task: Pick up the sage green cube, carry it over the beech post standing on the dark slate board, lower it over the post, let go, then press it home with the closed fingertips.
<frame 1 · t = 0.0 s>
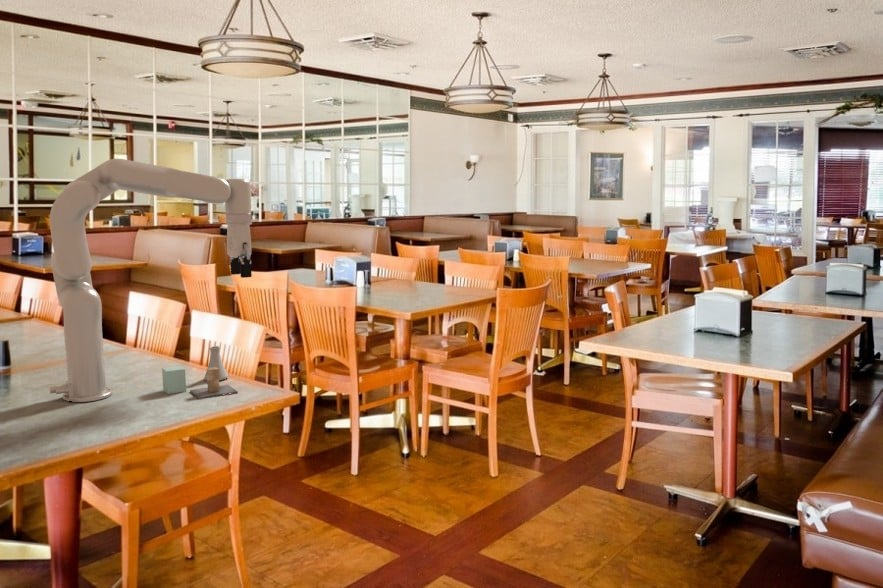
hand: (241, 275, 233), 31 cm above the table, tool pointing down, fingers open, 9 cm apart
sage green cube: (174, 390, 219), on the table
post: (213, 392, 217), on the table
flask: (216, 379, 233), on the table
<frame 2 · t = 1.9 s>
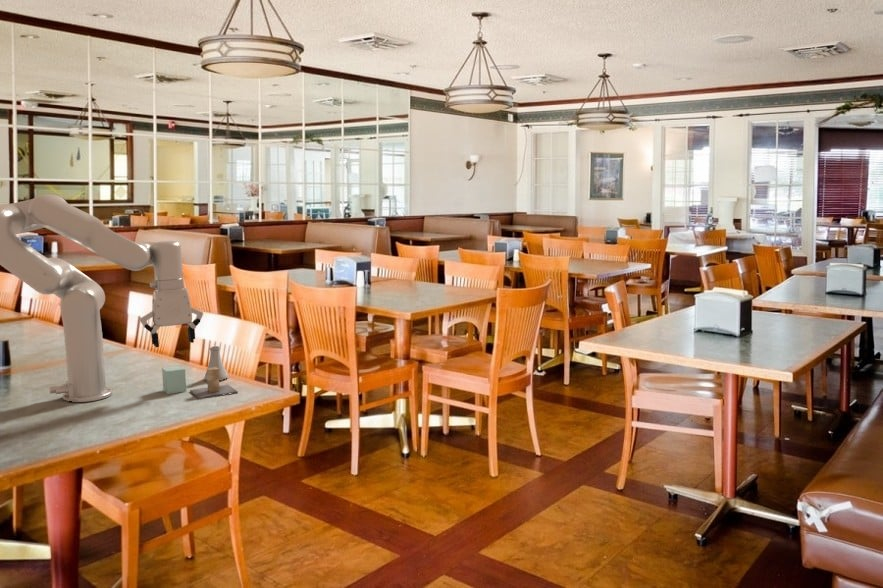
hand: (174, 344, 217), 14 cm above the table, tool pointing down, fingers open, 9 cm apart
nothing on the table moved.
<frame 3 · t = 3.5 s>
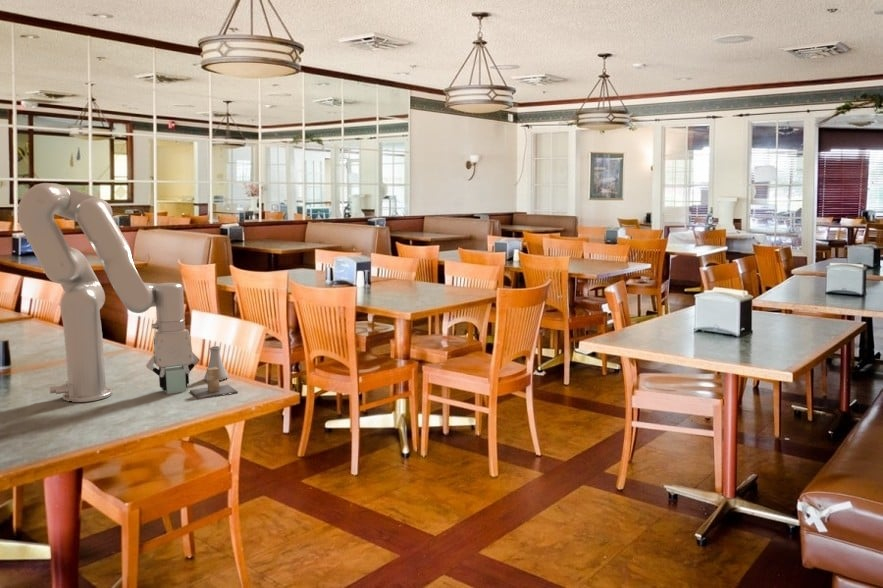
hand: (174, 387, 219), 1 cm above the table, tool pointing down, fingers closed on sage green cube, 5 cm apart
sage green cube: (174, 390, 219), on the table, touching gripper
everything else where it was.
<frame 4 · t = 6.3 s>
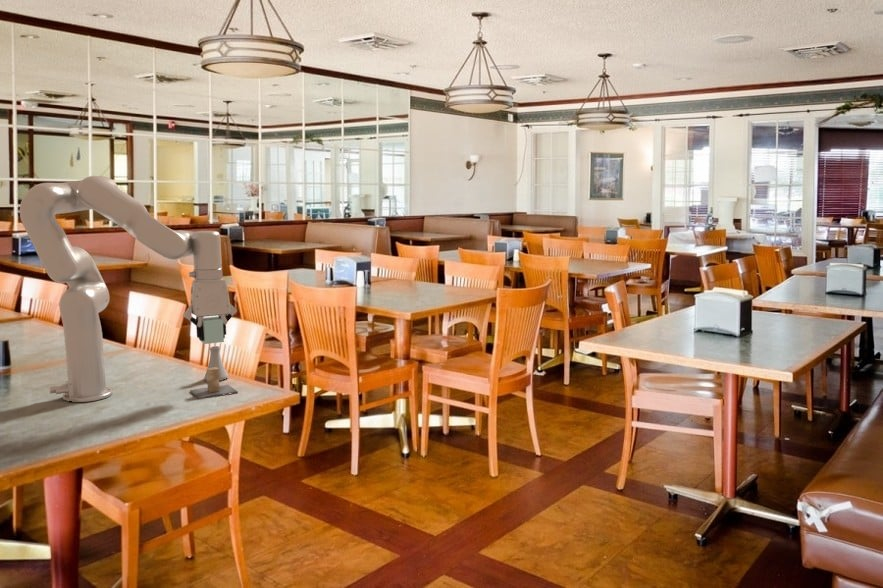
hand: (211, 338, 215), 16 cm above the table, tool pointing down, fingers closed on sage green cube, 5 cm apart
sage green cube: (212, 341, 215), point 15 cm above the table, touching gripper
everything else where it was.
when the fingers open (3 cm above the table, at t = 9.2 s): sage green cube drops 1 cm, resting on post.
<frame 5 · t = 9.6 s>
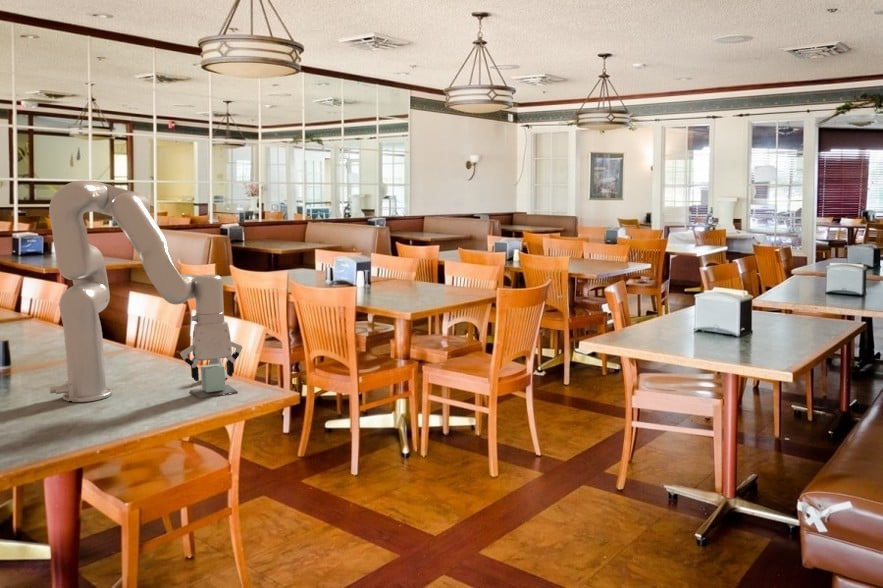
hand: (213, 377, 217), 4 cm above the table, tool pointing down, fingers open, 9 cm apart
sage green cube: (213, 389, 217), point 1 cm above the table, touching post
everything else where it was.
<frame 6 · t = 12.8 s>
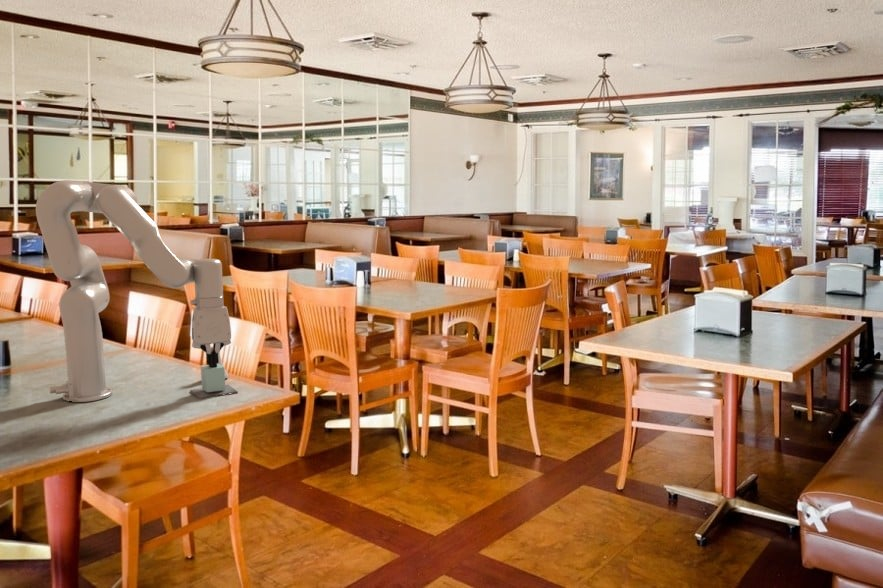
hand: (212, 366, 216), 8 cm above the table, tool pointing down, fingers closed
sage green cube: (213, 389, 217), point 1 cm above the table, touching gripper, post
everything else where it was.
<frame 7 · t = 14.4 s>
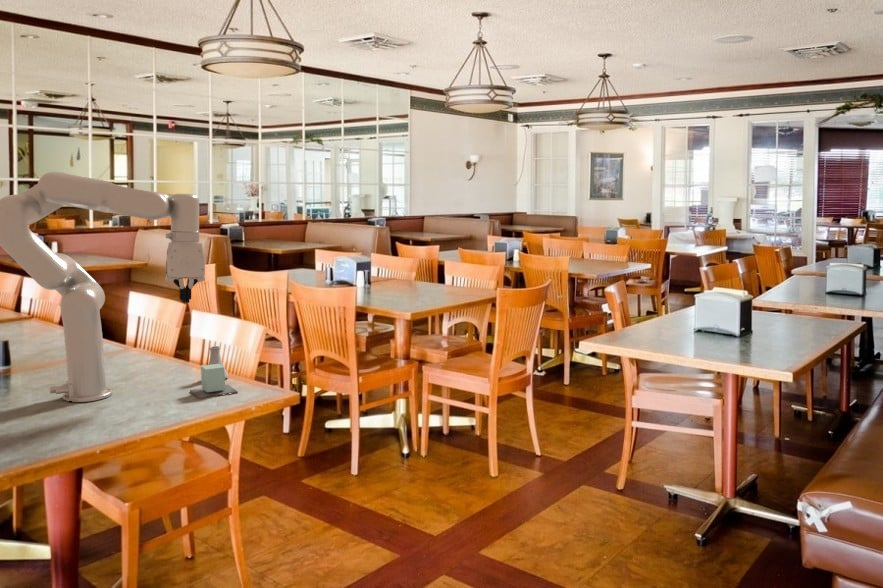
hand: (185, 302, 217), 26 cm above the table, tool pointing down, fingers closed
sage green cube: (213, 389, 217), point 1 cm above the table, touching post
everything else where it was.
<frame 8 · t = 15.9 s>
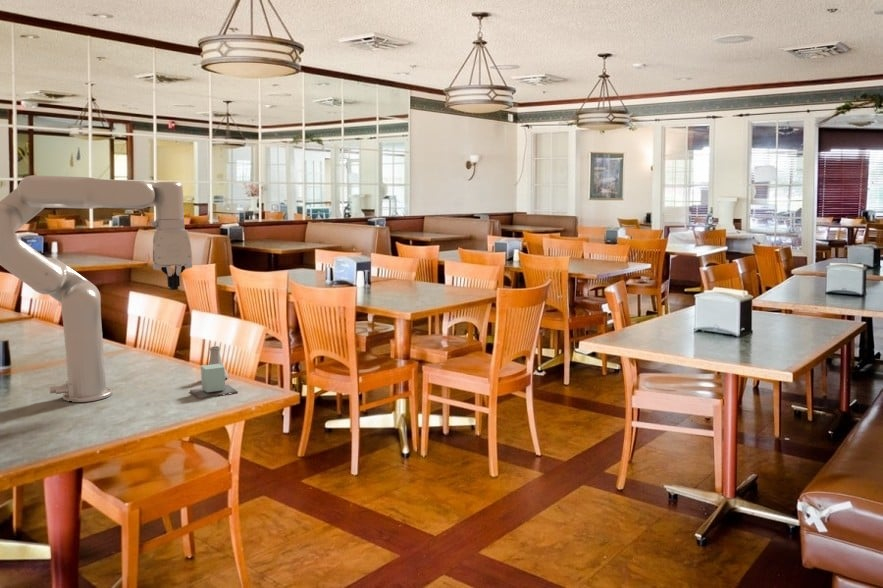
hand: (174, 289, 219), 29 cm above the table, tool pointing down, fingers closed
nothing on the table moved.
at the end: sage green cube 0.0 cm from the post (horizontally); sage green cube point 1.0 cm above the table; sage green cube tilted 0° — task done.
